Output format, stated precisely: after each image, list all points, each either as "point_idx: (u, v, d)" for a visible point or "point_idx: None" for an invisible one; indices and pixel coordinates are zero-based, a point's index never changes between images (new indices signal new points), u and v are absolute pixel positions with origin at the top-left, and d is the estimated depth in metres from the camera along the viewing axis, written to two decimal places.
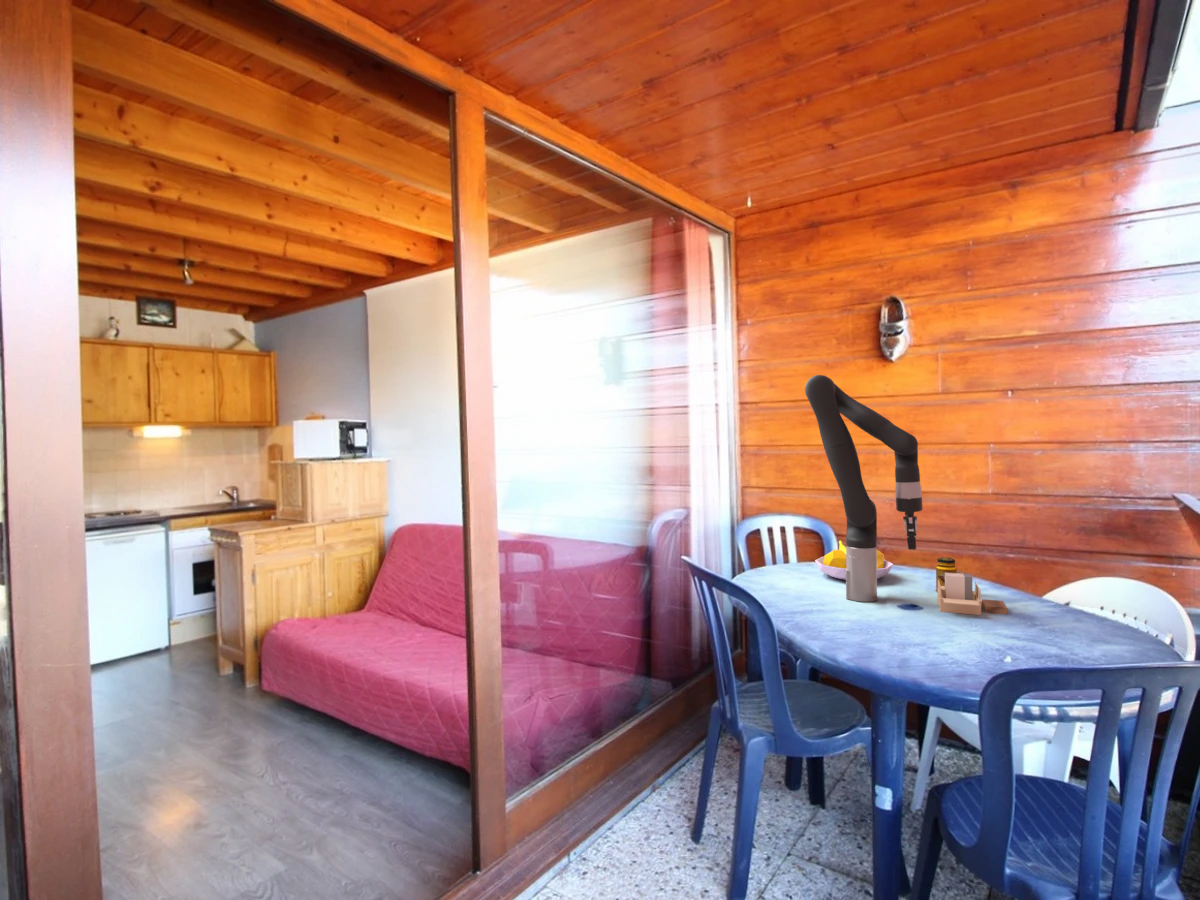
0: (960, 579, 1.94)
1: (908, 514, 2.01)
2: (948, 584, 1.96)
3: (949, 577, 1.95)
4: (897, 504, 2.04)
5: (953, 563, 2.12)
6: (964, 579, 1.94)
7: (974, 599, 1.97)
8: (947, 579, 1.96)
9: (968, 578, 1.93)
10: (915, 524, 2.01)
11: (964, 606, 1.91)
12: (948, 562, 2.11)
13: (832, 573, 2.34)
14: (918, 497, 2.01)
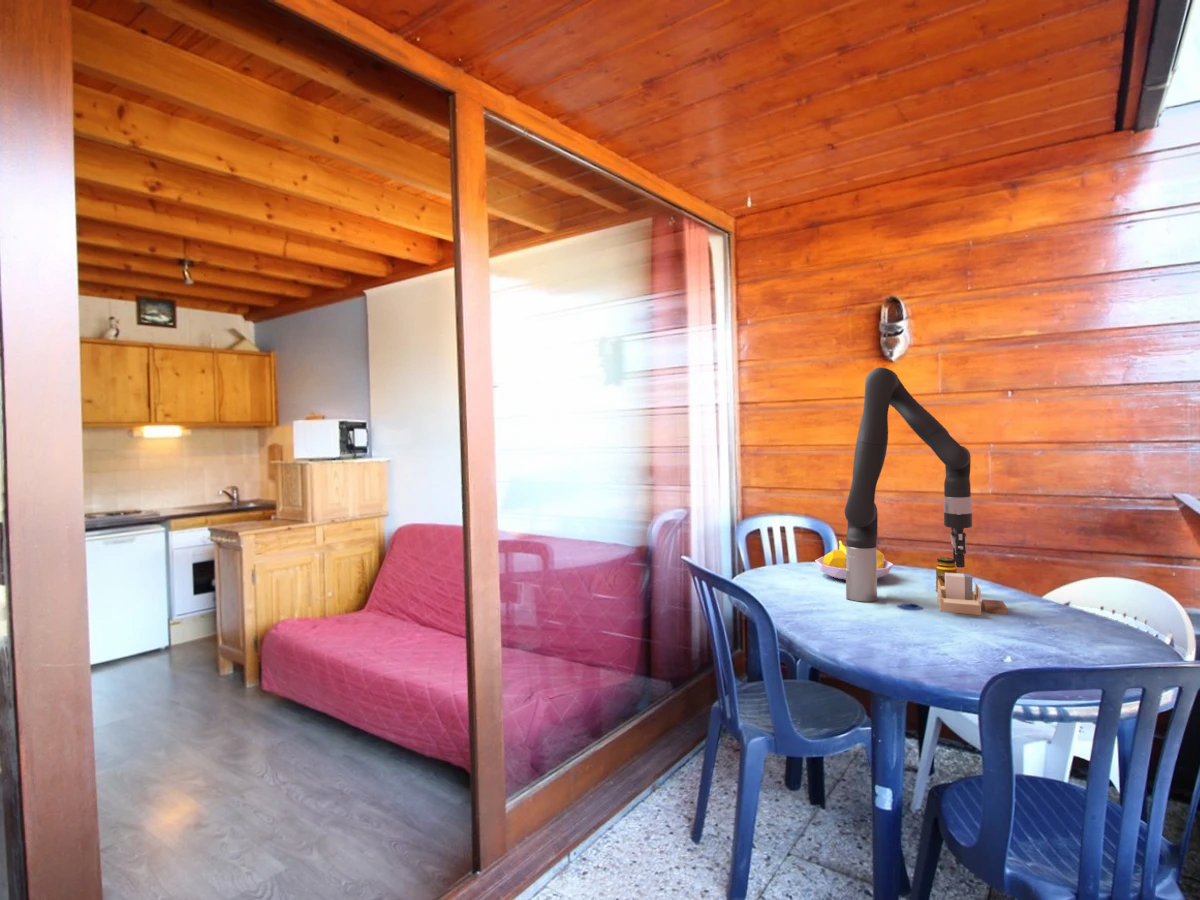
0: (960, 579, 1.94)
1: (957, 530, 1.93)
2: (948, 584, 1.96)
3: (949, 577, 1.95)
4: (946, 519, 1.95)
5: (953, 563, 2.12)
6: (964, 579, 1.94)
7: (974, 599, 1.97)
8: (947, 579, 1.96)
9: (968, 578, 1.93)
10: (964, 541, 1.93)
11: (964, 606, 1.91)
12: (948, 562, 2.11)
13: (832, 573, 2.34)
14: (968, 513, 1.92)
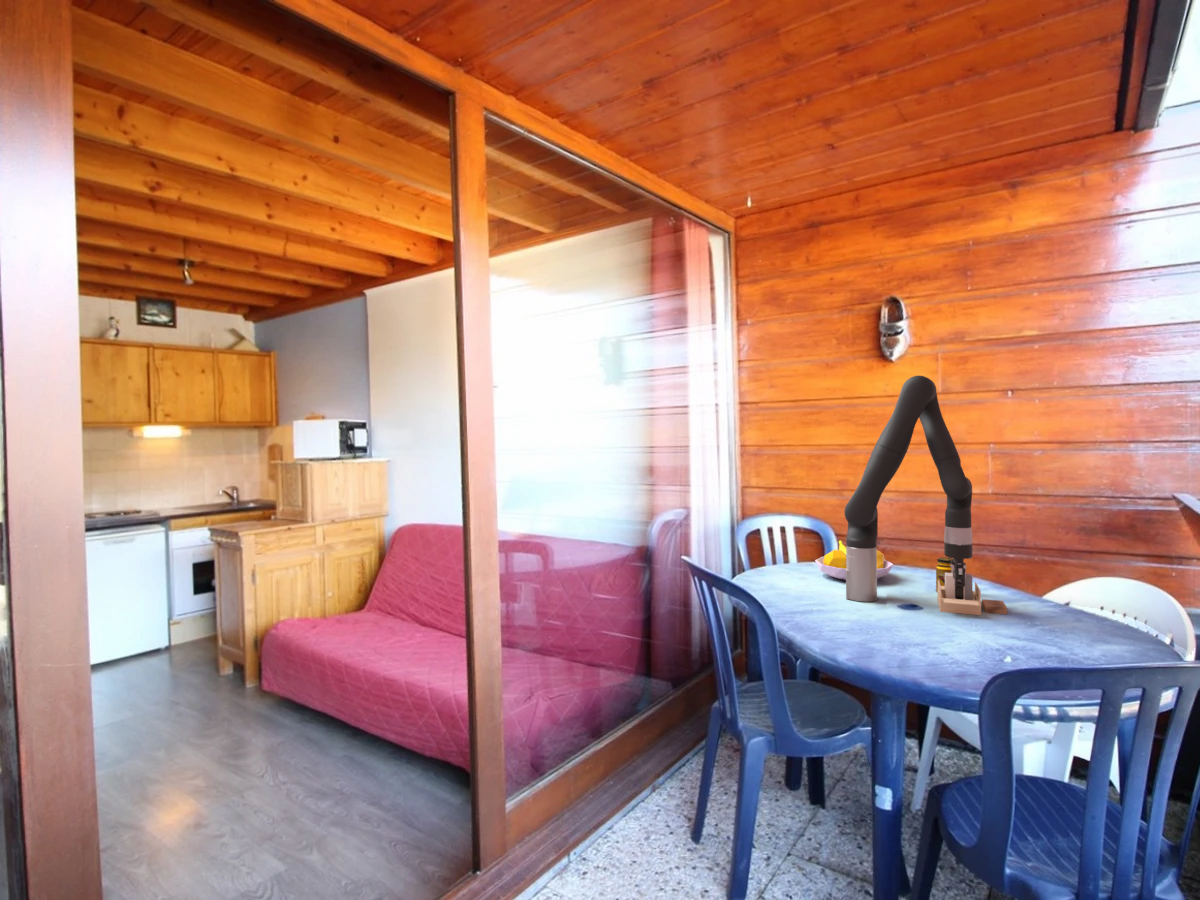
0: None
1: (957, 561, 1.93)
2: (948, 584, 1.96)
3: (949, 577, 1.95)
4: (946, 549, 1.96)
5: None
6: None
7: (974, 599, 1.97)
8: (947, 579, 1.96)
9: (968, 578, 1.93)
10: None
11: (964, 606, 1.91)
12: (948, 562, 2.11)
13: (832, 573, 2.34)
14: (969, 544, 1.93)
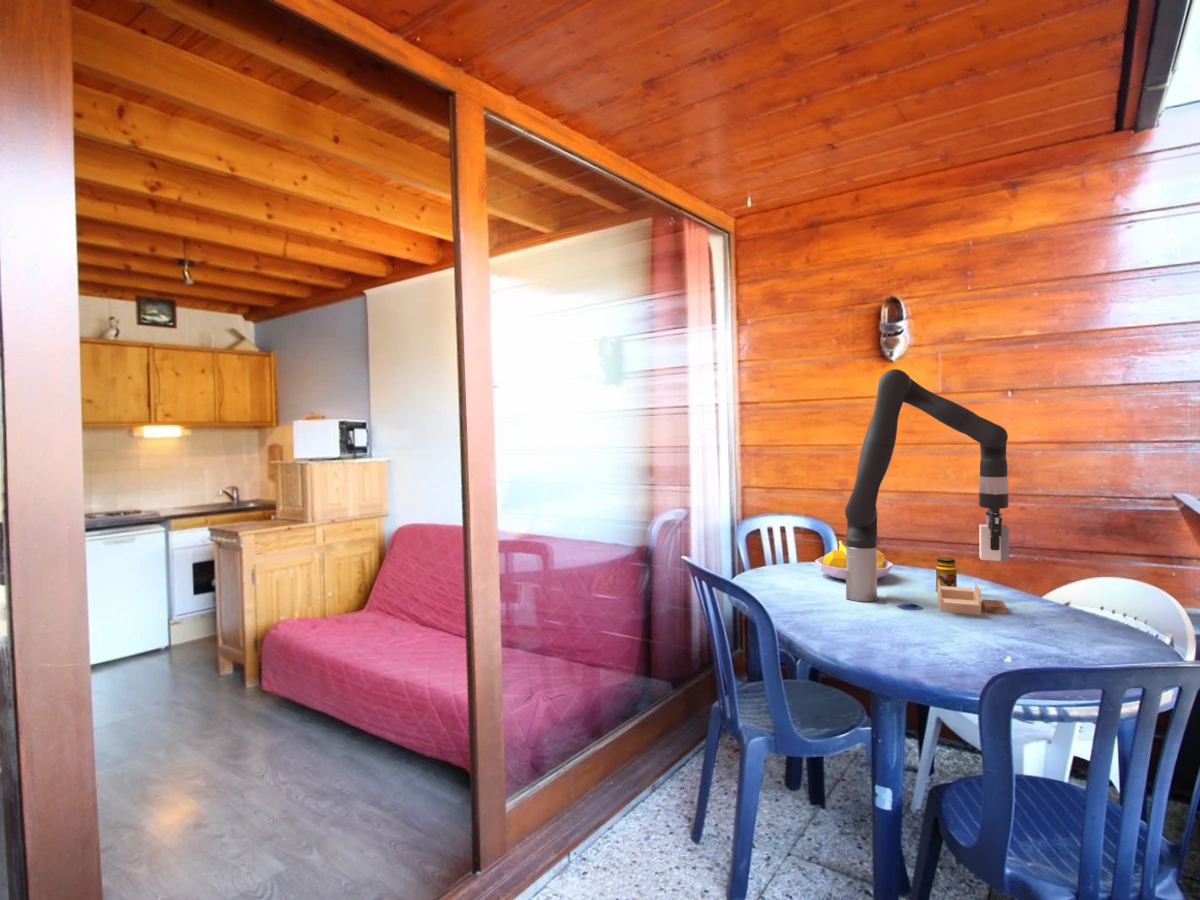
0: None
1: (993, 511, 1.90)
2: (983, 535, 1.92)
3: (984, 528, 1.92)
4: (981, 499, 1.92)
5: (953, 563, 2.12)
6: None
7: (974, 599, 1.97)
8: (982, 530, 1.92)
9: (1004, 528, 1.90)
10: None
11: (964, 606, 1.91)
12: (948, 562, 2.11)
13: (832, 573, 2.34)
14: (1005, 493, 1.89)
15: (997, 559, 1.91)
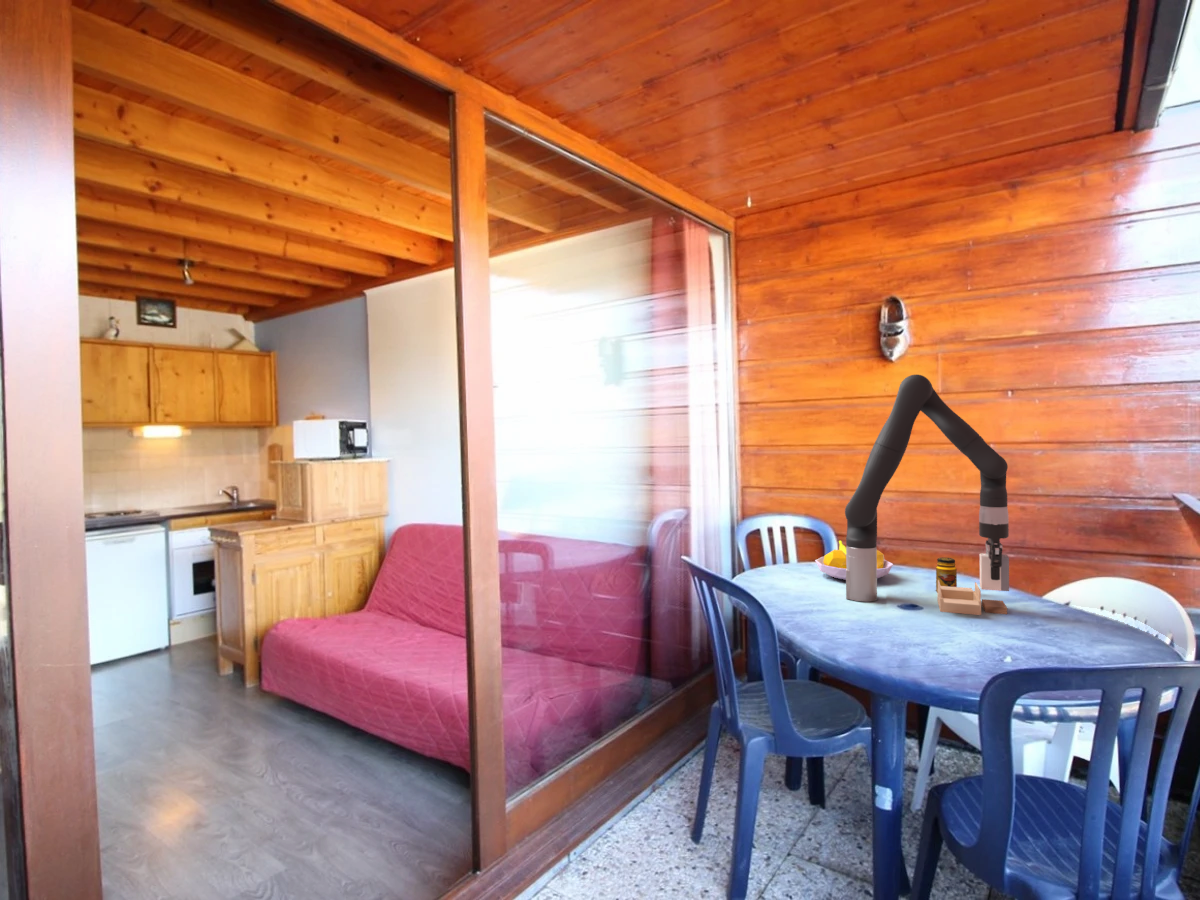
0: None
1: (993, 541, 1.90)
2: (984, 565, 1.92)
3: (985, 557, 1.92)
4: (982, 529, 1.93)
5: (953, 563, 2.12)
6: None
7: (974, 599, 1.97)
8: (983, 559, 1.93)
9: (1004, 558, 1.90)
10: None
11: (964, 606, 1.91)
12: (948, 562, 2.11)
13: (832, 573, 2.34)
14: (1005, 523, 1.90)
15: (997, 589, 1.91)
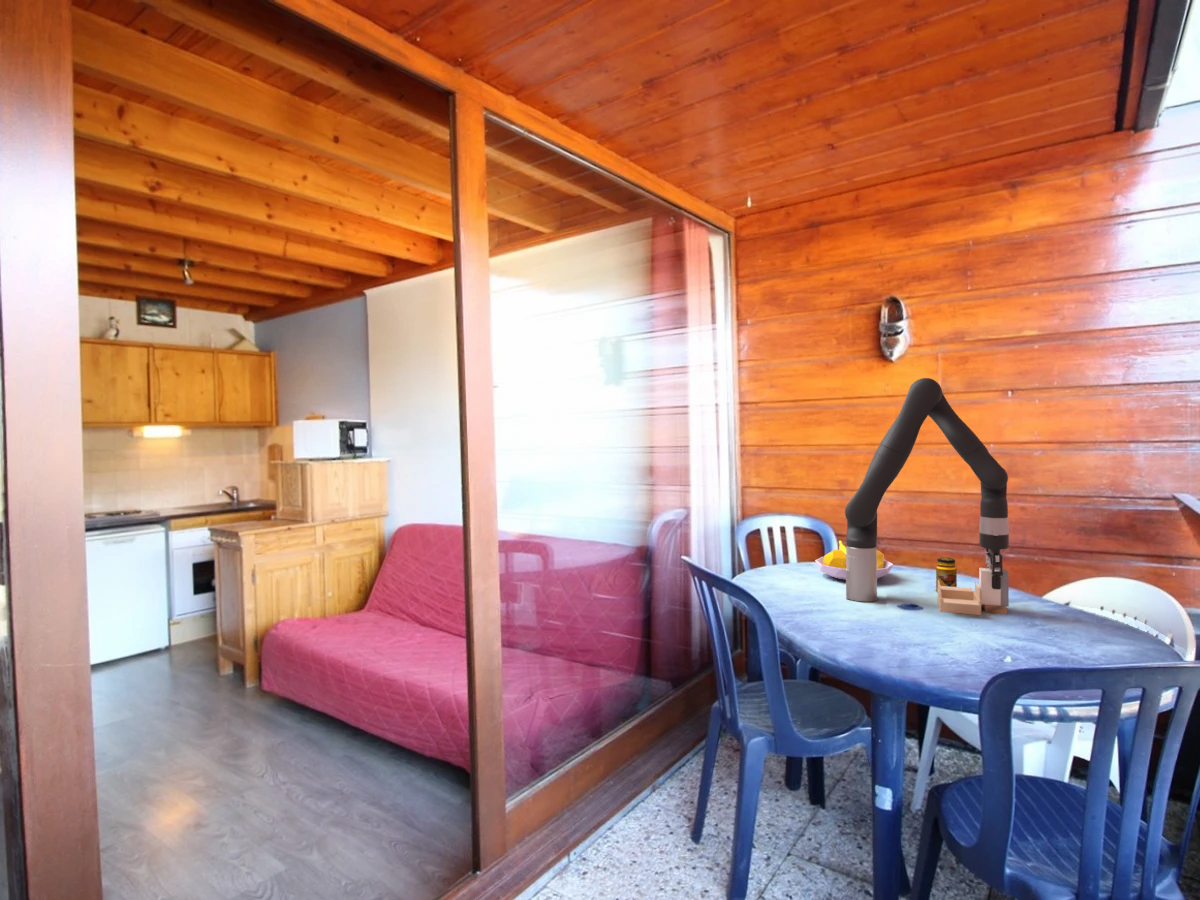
0: None
1: (994, 551, 1.90)
2: (983, 580, 1.93)
3: (984, 572, 1.92)
4: (982, 539, 1.93)
5: (953, 563, 2.12)
6: None
7: (974, 599, 1.97)
8: (982, 574, 1.93)
9: (1004, 573, 1.90)
10: None
11: (964, 606, 1.91)
12: (948, 562, 2.11)
13: (832, 573, 2.34)
14: (1005, 534, 1.90)
15: (997, 604, 1.92)
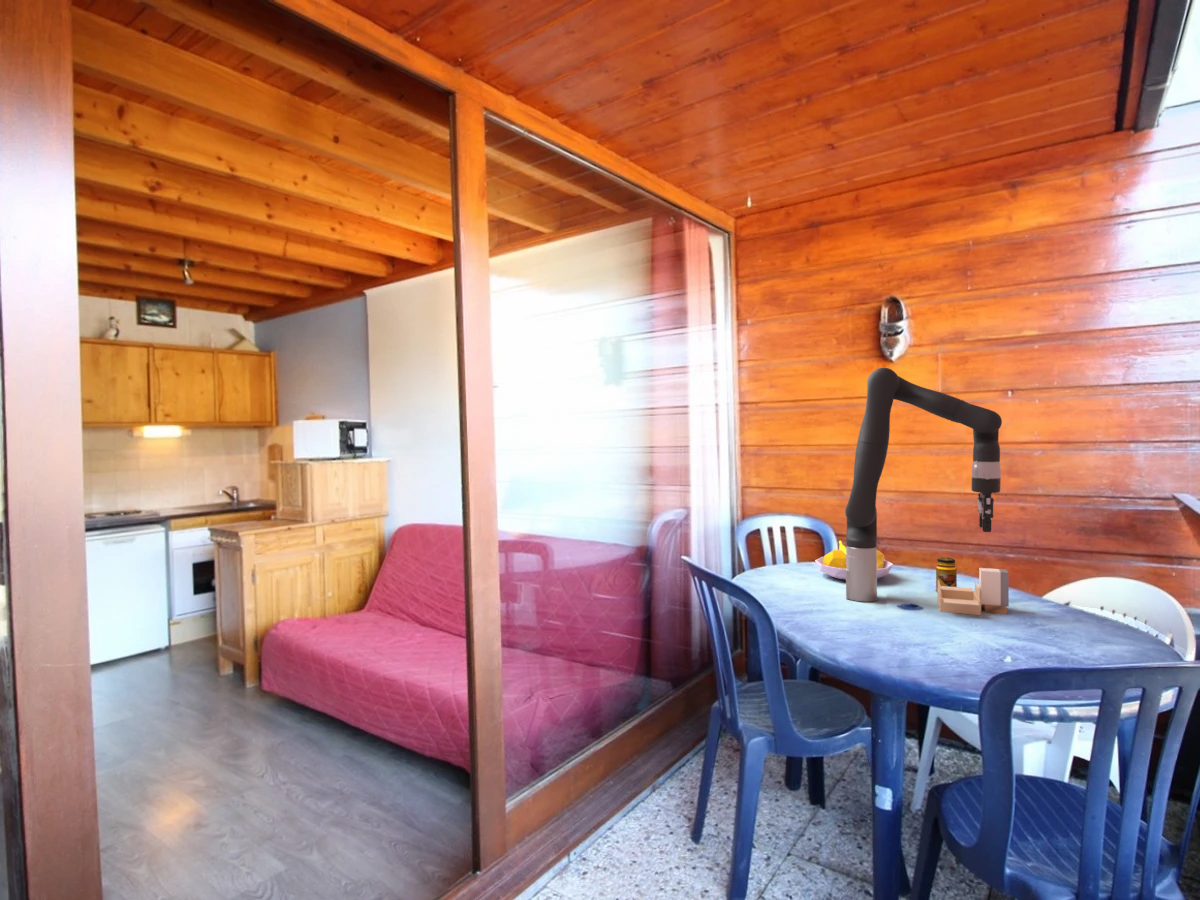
0: (996, 574, 1.91)
1: (985, 495, 1.92)
2: (983, 580, 1.93)
3: (984, 572, 1.92)
4: (974, 484, 1.95)
5: (953, 563, 2.12)
6: (1000, 574, 1.91)
7: (974, 599, 1.97)
8: (982, 574, 1.93)
9: (1004, 573, 1.90)
10: None
11: (964, 606, 1.91)
12: (948, 562, 2.11)
13: (832, 573, 2.34)
14: (997, 478, 1.92)
15: (997, 604, 1.92)
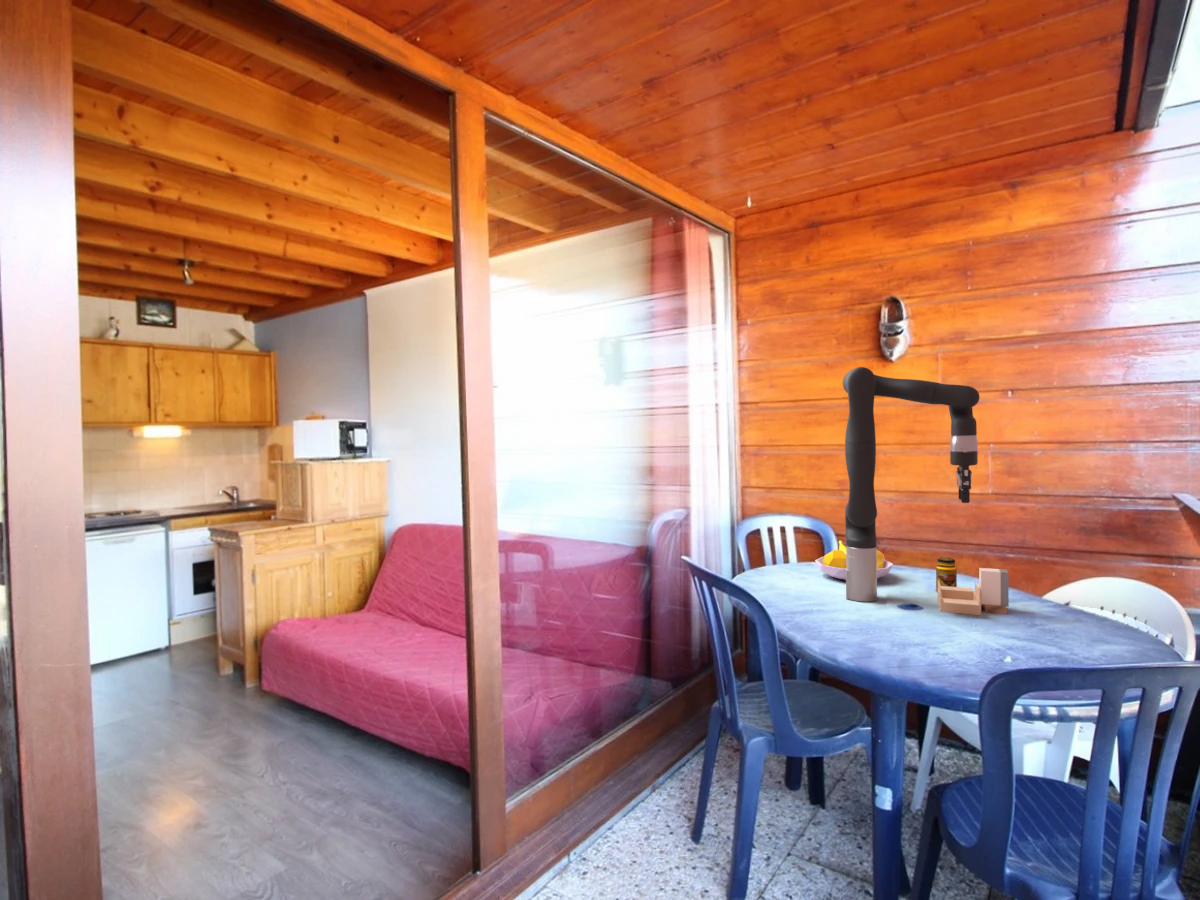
0: (996, 574, 1.91)
1: (963, 467, 2.00)
2: (983, 580, 1.93)
3: (984, 572, 1.92)
4: (952, 457, 2.03)
5: (953, 563, 2.12)
6: (1000, 574, 1.91)
7: (974, 599, 1.97)
8: (982, 574, 1.93)
9: (1004, 573, 1.90)
10: None
11: (964, 606, 1.91)
12: (948, 562, 2.11)
13: (832, 573, 2.34)
14: (974, 451, 2.00)
15: (997, 604, 1.92)
